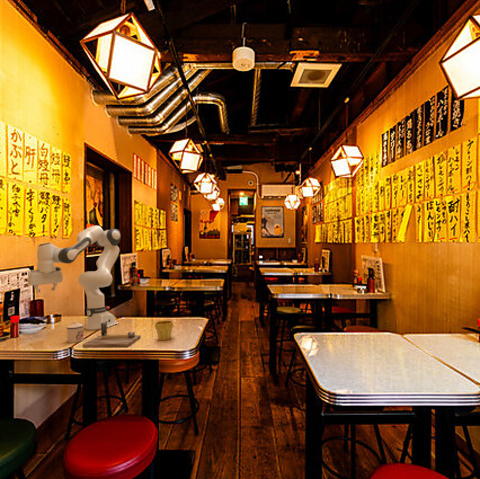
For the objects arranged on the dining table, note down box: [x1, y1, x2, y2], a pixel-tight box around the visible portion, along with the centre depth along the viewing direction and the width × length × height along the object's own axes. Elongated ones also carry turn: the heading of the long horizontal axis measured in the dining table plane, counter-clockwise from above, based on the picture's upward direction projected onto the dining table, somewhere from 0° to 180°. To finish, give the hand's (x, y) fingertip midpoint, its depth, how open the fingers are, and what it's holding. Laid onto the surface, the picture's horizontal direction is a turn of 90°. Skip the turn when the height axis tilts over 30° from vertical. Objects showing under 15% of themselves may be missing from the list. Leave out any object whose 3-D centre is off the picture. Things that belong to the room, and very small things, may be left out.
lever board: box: [82, 334, 141, 348], centre depth 192 cm, size 18×26×2 cm
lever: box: [100, 323, 136, 338], centre depth 197 cm, size 20×4×9 cm, turn 90°
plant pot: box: [154, 319, 174, 341], centre depth 197 cm, size 10×10×10 cm
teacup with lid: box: [66, 320, 84, 344], centre depth 200 cm, size 12×9×12 cm
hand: (45, 291), depth 206 cm, fingers open, 8 cm apart
